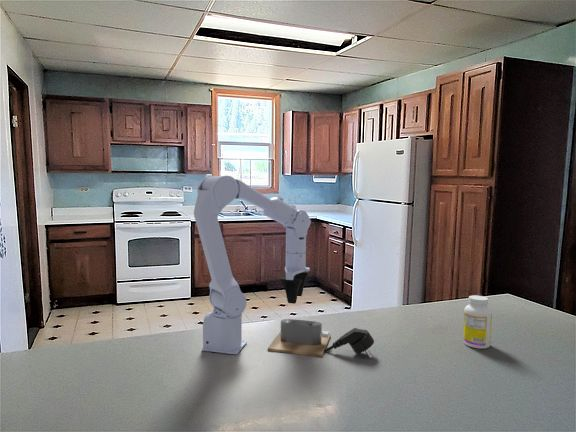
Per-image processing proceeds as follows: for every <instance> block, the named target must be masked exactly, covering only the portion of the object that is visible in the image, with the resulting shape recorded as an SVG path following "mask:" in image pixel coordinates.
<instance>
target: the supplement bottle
mask: <svg viewBox="0 0 576 432" xmlns="http://www.w3.org/2000/svg"><path fill="white" fill-rule="evenodd" d="M468 303H469V304H466V306H465V307H464V308H463V309H464V311H463V338H462V339H463V344H465V345H466V347H469V348H470V347H471V348H474V349H479V350H482V349H488V348H490V346H491V343H492V342H491V338H492V317H493V316H492V314H493V313H492V309H491V308H490V307H489V306H488V304H489V298H488V297H486V296H483V295H477V294H476V295H469V296H468Z"/></svg>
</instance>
